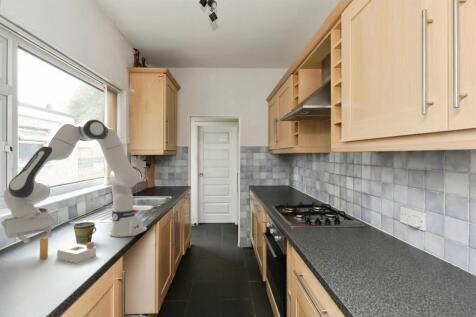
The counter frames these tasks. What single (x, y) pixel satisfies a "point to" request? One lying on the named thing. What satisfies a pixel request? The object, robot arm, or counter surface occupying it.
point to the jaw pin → (44, 248)
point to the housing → (77, 252)
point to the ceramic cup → (84, 232)
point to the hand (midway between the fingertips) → (39, 239)
